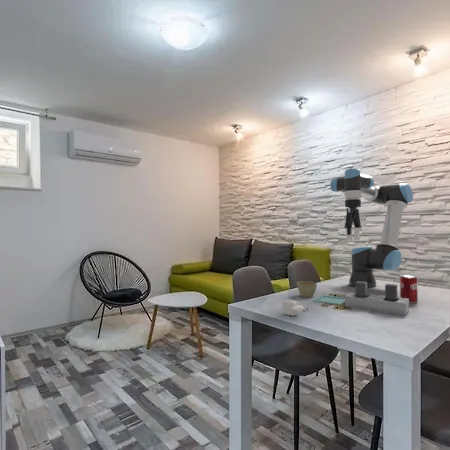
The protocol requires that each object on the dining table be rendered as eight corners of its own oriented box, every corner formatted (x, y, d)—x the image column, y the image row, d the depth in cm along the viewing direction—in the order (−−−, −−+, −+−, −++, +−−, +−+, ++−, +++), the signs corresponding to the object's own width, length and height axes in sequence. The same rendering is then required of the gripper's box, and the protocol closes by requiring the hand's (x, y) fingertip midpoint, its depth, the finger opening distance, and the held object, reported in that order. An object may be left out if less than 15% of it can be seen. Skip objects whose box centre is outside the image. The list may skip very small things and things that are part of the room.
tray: (322, 296, 164) (322, 294, 164) (348, 300, 156) (348, 298, 156) (313, 301, 153) (312, 300, 153) (340, 305, 146) (340, 303, 146)
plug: (358, 302, 146) (358, 281, 146) (367, 304, 144) (367, 282, 144) (356, 304, 143) (355, 282, 143) (365, 306, 141) (365, 283, 141)
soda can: (398, 301, 151) (398, 276, 151) (402, 299, 157) (402, 274, 157) (415, 304, 146) (415, 278, 146) (419, 301, 152) (419, 276, 152)
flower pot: (309, 300, 157) (309, 285, 157) (293, 296, 165) (293, 283, 165) (320, 296, 164) (320, 283, 164) (304, 293, 171) (304, 280, 171)
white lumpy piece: (310, 317, 128) (310, 302, 128) (304, 320, 125) (303, 305, 125) (287, 312, 136) (287, 298, 136) (281, 314, 133) (280, 300, 133)
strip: (356, 298, 159) (356, 276, 159) (411, 305, 145) (411, 281, 145) (345, 307, 143) (344, 282, 143) (405, 315, 129) (405, 288, 129)
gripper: (351, 200, 175) (352, 239, 175) (337, 198, 155) (338, 241, 155) (366, 200, 170) (367, 239, 170) (353, 197, 150) (354, 242, 150)
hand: (353, 240), depth 162 cm, fingers open, 13 cm apart
